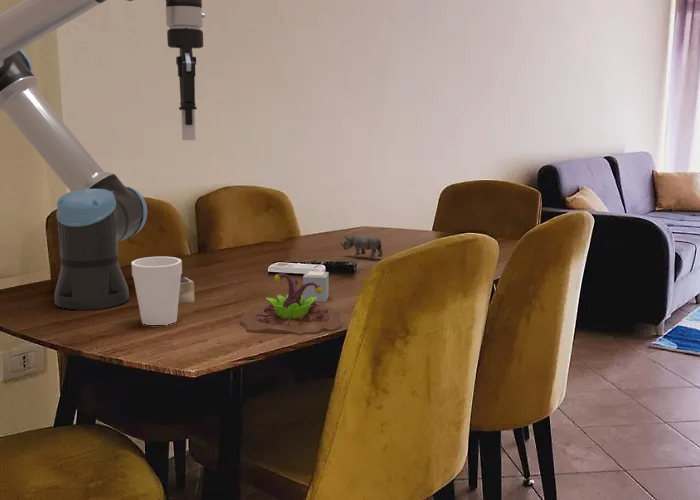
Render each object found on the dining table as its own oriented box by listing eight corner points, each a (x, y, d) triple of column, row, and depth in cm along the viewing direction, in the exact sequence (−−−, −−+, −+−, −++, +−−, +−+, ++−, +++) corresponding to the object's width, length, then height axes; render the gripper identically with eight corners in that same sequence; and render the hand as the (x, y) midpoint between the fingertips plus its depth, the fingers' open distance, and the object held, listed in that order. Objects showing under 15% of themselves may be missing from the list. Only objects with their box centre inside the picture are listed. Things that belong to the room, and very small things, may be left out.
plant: (243, 314, 159) (242, 261, 156) (337, 312, 160) (337, 260, 158) (237, 345, 139) (236, 286, 137) (344, 343, 141) (344, 285, 138)
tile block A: (172, 307, 162) (171, 283, 161) (164, 302, 166) (163, 278, 165) (194, 304, 165) (193, 280, 163) (186, 299, 169) (185, 275, 168)
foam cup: (162, 316, 155) (159, 254, 152) (194, 325, 150) (191, 260, 147) (124, 328, 147) (120, 262, 145) (156, 337, 142) (153, 269, 140)
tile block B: (303, 303, 166) (303, 275, 164) (306, 297, 170) (306, 270, 169) (326, 304, 165) (326, 276, 164) (328, 298, 170) (328, 270, 169)
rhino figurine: (344, 250, 221) (344, 230, 220) (385, 256, 214) (385, 235, 212) (336, 253, 217) (336, 232, 216) (377, 259, 210) (377, 237, 209)
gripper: (205, 27, 158) (209, 141, 163) (199, 31, 170) (203, 138, 175) (168, 25, 156) (173, 142, 161) (165, 30, 168) (169, 138, 173)
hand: (189, 139), depth 168 cm, fingers closed
